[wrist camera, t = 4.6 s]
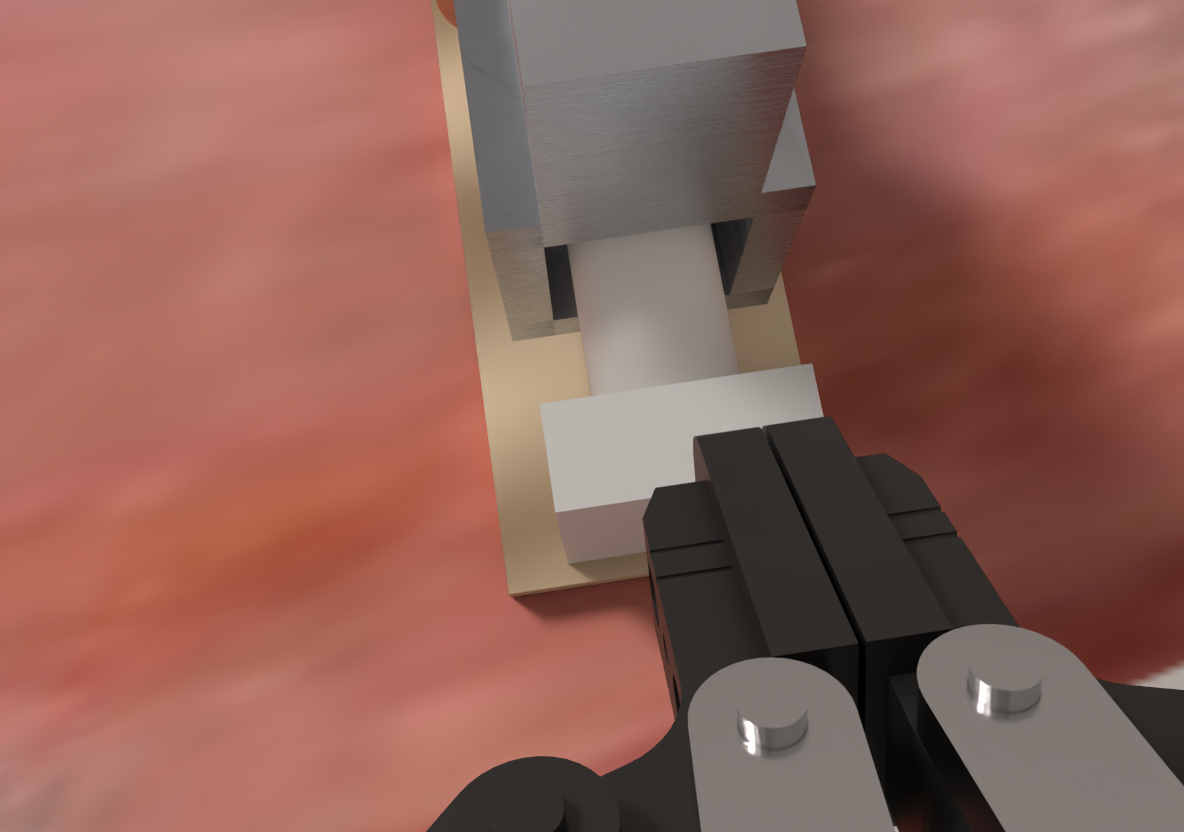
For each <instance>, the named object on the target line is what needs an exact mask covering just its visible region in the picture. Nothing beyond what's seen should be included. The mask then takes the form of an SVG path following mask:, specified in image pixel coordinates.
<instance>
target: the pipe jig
mask: <svg viewBox="0 0 1184 832" xmlns="http://www.w3.org/2000/svg"><path fill="white" fill-rule="evenodd" d="M567 248H568V255H569V261H570V267H571V274H572V280H573V286H574V293H575V299H576V305H577V312H578V318H579V324H580V331H581V337H582V343H583V350H584V356H585V362H586V369H587V375H588V381H589V388H590V394H591V396H590V397H583V398H576V399H570V400H563V401H556V402H550V403H543V404H540V411H541V417H542V424H543V431H544V438H545V445H546V452H547V459H548V466H549V473H550V479H551V486H552V493H553V500H554V507H555V513H556V517H557V521H558V525H559V529H560V533H561V537H562V541H563V545H564V549H565V553H566V557H567V561H568V564H570V563H577V562H583V561H590V560H596V559H603V558H609V557H616V556H622V555H629V554H635V553H642V552H646V545H645V536H644V527H643V519H642V518H643V516H644V513H645V511H646V509H647V506H648V504H649V501H650V499H651V497H652V494H653V492H654V489H655V488H657V487H664V486H670V485H677V484H684V483H690V482H695V471H694V458H693V438H694V436H700V435H706V434H713V433H720V432H727V431H733V430H740V429H747V428H753V427H760V428H761V429H762V427H763V426H765V425H772V424H779V423H785V422H792V421H799V420H806V419H812V418H819V417H824V416H823V412H822V407H821V402H820V398H819V393H818V388H817V384H816V379H815V374H814V370H813V365H812V363H811V364H804V365H797V366H791V367H784V368H777V369H771V370H764V371H757V372H750V373H744V374H740V372H739V367H738V362H737V357H736V352H735V347H734V342H733V336H732V331H731V326H730V321H729V316H728V311H727V306H726V301H725V296H724V291H723V285H722V280H721V275H720V270H719V265H718V260H717V255H716V250H715V245H714V240H713V234H712V229H711V224H703V225H696V226H689V227H682V228H675V229H668V230H662V231H655V232H648V233H641V234H634V235H627V236H620V237H613V238H606V239H600V240H593V241H586V242H579V243H572V244H567Z"/></svg>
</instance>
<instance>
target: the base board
mask: <svg viewBox="0 0 1184 832" xmlns="http://www.w3.org/2000/svg"><path fill="white" fill-rule="evenodd" d="M431 5H432V13H433V21H434V28H435V36H436V43H437V51H438V59H439V66H440V74H441V81H442V89H443V97H444V104H445V112H446V119H447V127H448V135H449V142H450V150H451V157H452V165H453V173H454V180H455V188H456V196H457V203H458V211H459V218H460V226H461V234H462V241H463V249H464V256H465V264H466V272H467V279H468V287H469V294H470V302H471V310H472V317H473V325H474V332H475V340H476V348H477V355H478V363H479V371H480V378H481V386H482V393H483V401H484V409H485V416H486V424H487V431H488V439H489V447H490V454H491V462H492V469H493V477H494V485H495V492H496V500H497V508H498V515H499V523H500V530H501V538H502V546H503V553H504V561H505V568H506V576H507V584H508V591H509V595H510V596H511V597H518V596H524V595H531V594H537V593H544V592H550V591H556V590H563V589H569V588H576V587H582V586H589V585H595V584H602V583H608V582H615V581H621V580H628V579H634V578H641V577H647V576H649V571H648V562H647V554H646V552H642V553H635V554H629V555H622V556H616V557H609V558H603V559H596V560H590V561H583V562H577V563H570V564H568V561H567V557H566V553H565V549H564V545H563V541H562V537H561V533H560V529H559V525H558V521H557V517H556V513H555V507H554V500H553V493H552V486H551V479H550V473H549V466H548V459H547V452H546V445H545V438H544V431H543V424H542V417H541V411H540V404H543V403H550V402H556V401H563V400H570V399H576V398H583V397H590V396H591V394H590V388H589V381H588V375H587V369H586V362H585V356H584V350H583V343H582V337H581V332H574V333H567V334H561V335H554V336H547V337H540V338H534V339H527V340H520V341H512V337H511V333H510V329H509V325H508V321H507V317H506V313H505V309H504V305H503V301H502V297H501V293H500V289H499V285H498V281H497V277H496V273H495V269H494V265H493V261H492V257H491V253H490V249H489V245H488V241H487V237H486V233H485V226H484V219H483V212H482V205H481V197H480V190H479V183H478V176H477V168H476V161H475V154H474V146H473V139H472V132H471V125H470V117H469V110H468V103H467V96H466V88H465V81H464V74H463V67H462V59H461V52H460V45H459V37H458V30H457V28H456V27H455V26H453V25H452V24H450V23H449V22H448V21H447V20H446V19H445V18H444V17H443V15H442V14H441V12H440V10H439V8H438V6H437V3H436V0H431ZM727 311H728V316H729V321H730V326H731V331H732V336H733V342H734V347H735V352H736V357H737V362H738V367H739V372H740V374H744V373H750V372H757V371H764V370H771V369H777V368H784V367H791V366H797V365H801V363H800V358H799V353H798V348H797V344H796V339H795V334H794V329H793V325H792V320H791V315H790V311H789V306H788V301H787V296H786V292H785V287H784V282H783V278H782V273H781V272H780V274H779V277H778V279H777V282H776V284H775V286H774V289H773V291H772V294H771V296H770V299H769V301H768V304H764V305H757V306H750V307H744V308H737V309H730V310H727Z"/></svg>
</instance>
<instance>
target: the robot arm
mask: <svg viewBox="0 0 1184 832" xmlns="http://www.w3.org/2000/svg"><path fill="white" fill-rule="evenodd" d="M693 458H694V471H695V482H690V483H684V484H677V485H670V486H664V487H657V488H655V489H654V492H653V494H652V497H651V499H650V501H649V504H648V506H647V509H646V511H645V513H644V516H643V518H642V519H643V527H644V536H645V545H646V554H647V562H648V571H649V580H650V589H651V597H652V606H653V615H654V624H655V629H656V634H657V638H658V643H659V648H660V652H661V657H662V660H663V666H664V671H665V676H666V680H667V685H668V688H669V694H670V699H671V704H672V708H673V713H674V718H675V722H674V723H673V725H672V727H671V729H670V730H669V731H668V733H667V734H666V735H665V737H664V738H663V739H662V740H661V741H660V742H659V743H658V744H657V745H656V746H655V747H654V748H653V749H651V750H650V751H648V752H647V753H646V754H644V755H643V756H642V757H640V758H638V759H636V760H634V761H632V762H631V763H629V764H627V765H625V766H622V767H620V768H618V769H616V770H614V771H612V772H609V773H607V774H605V775H603V776H601V777H600V776H598V775H597V774H596V773H595V772H593V771H592V770H591V769H589V768H587V767H585V766H583V765H581V764H579V763H576V762H573V761H570V760H567V759H563V758H557V757H545V756H536V757H527V758H521V759H517V760H513V761H509V762H506V763H504V764H501V765H499V766H496V767H494V768H492V769H490V770H488V771H487V772H485V773H483V774H481V775H480V776H479V777H477V778H476V779H475V780H473V781H472V782H471V783H469V784H468V785H467V786H466V787H465V788H464V789H463V790H462V791H461V792H460V793H459V794H458V795H457V797H456V798H455V799H454V800H453V801H452V802H451V804H450V805H449V806H448V807H447V808H446V809H445V810H444V812H443V813H442V814H441V815H440V816H439V817H438V819H437V820H436V821H435V822H434V823H433V824H432V826H431V827H430V828H429V829H428V830H427V831H426V832H895V830H894V827H893V826H897V828H898V830H899V832H1184V690H1176V689H1165V688H1154V687H1143V686H1132V685H1125V684H1118V683H1113V682H1108V681H1104V680H1100V679H1096V678H1095V677H1094V676H1093V675H1092V674H1091V673H1090V671H1089V670H1088V669H1087V668H1086V666H1085V665H1084V664H1083V663H1082V662H1081V661H1080V660H1079V659H1078V658H1077V657H1076V656H1075V655H1074V654H1073V653H1072V652H1071V651H1069V650H1068V649H1067V648H1065V647H1064V646H1063V645H1061V644H1059V643H1057V642H1056V641H1054V640H1052V639H1050V638H1048V637H1046V636H1044V635H1041V634H1039V633H1037V632H1033V631H1030V630H1027V629H1024V628H1020V627H1019V626H1018V624H1017V623H1016V621H1015V620H1014V618H1013V617H1012V615H1011V613H1010V612H1009V610H1008V609H1007V607H1006V606H1005V604H1004V603H1003V601H1002V600H1001V598H1000V597H999V595H998V594H997V592H996V591H995V589H994V587H993V586H992V584H991V583H990V581H989V580H988V578H987V577H986V575H985V574H984V572H983V571H982V569H981V568H980V566H979V565H978V563H977V561H976V560H975V558H974V557H973V555H972V554H971V552H970V551H969V549H968V548H967V546H966V545H965V543H964V542H963V540H962V538H958V537H957V531H956V529H955V528H954V526H953V525H952V523H951V522H950V520H949V519H948V517H947V516H946V514H945V512H943V513H942V512H941V508H940V505H939V503H938V502H937V500H936V499H935V497H934V496H933V494H932V493H931V491H930V490H929V488H928V486H927V485H926V483H925V482H924V480H923V479H922V477H921V476H920V475H918V474H917V473H915V472H913V471H912V470H910V469H909V468H907V467H906V466H904V465H903V464H901V463H899V462H898V461H896V460H895V459H893V458H892V457H890V456H889V455H887V454H886V453H883V454H876V455H869V456H862V457H856V458H855V457H854V455H853V453H852V452H851V450H850V448H849V446H848V445H847V443H846V441H845V439H844V438H843V436H842V434H841V432H840V431H839V429H838V427H837V425H836V424H835V422H834V421H833V419H832V418H831V417H829V416H826V417H819V418H812V419H806V420H799V421H792V422H785V423H779V424H772V425H765V426H763V427H762V429H761V428H760V427H753V428H747V429H740V430H733V431H727V432H720V433H713V434H706V435H700V436H694V438H693Z"/></svg>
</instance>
